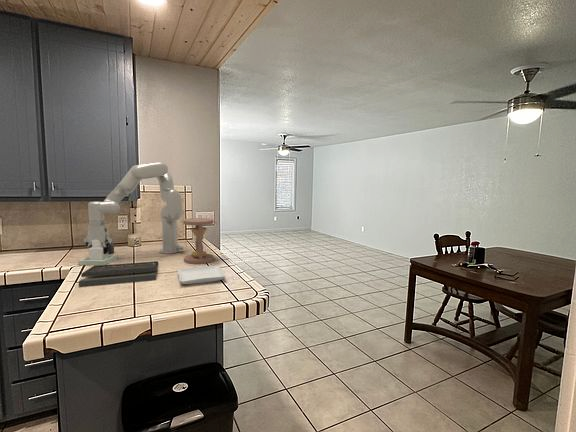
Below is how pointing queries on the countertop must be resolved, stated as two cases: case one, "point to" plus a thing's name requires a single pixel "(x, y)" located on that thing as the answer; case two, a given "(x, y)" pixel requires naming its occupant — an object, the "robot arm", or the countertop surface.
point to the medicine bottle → (97, 251)
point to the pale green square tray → (97, 261)
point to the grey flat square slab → (200, 274)
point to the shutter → (119, 270)
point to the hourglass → (198, 241)
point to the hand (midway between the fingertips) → (98, 253)
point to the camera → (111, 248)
